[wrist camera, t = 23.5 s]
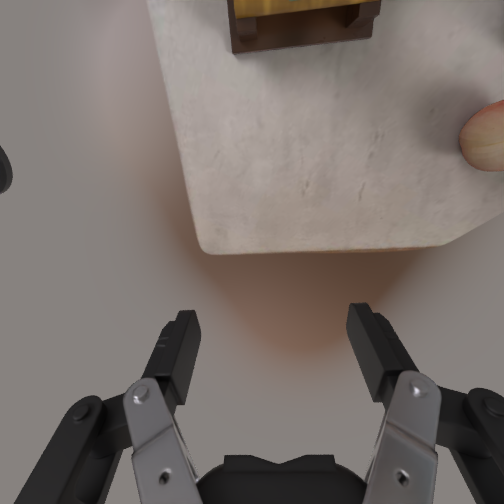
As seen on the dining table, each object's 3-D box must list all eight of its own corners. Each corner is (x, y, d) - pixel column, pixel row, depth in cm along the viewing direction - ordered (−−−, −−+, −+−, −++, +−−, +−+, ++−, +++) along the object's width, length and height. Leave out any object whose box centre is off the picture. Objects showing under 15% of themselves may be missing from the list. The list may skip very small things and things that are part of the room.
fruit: (518, 89, 30) (594, 84, 23) (503, 154, 34) (564, 166, 27) (448, 109, 31) (501, 110, 24) (441, 170, 35) (485, 186, 28)
